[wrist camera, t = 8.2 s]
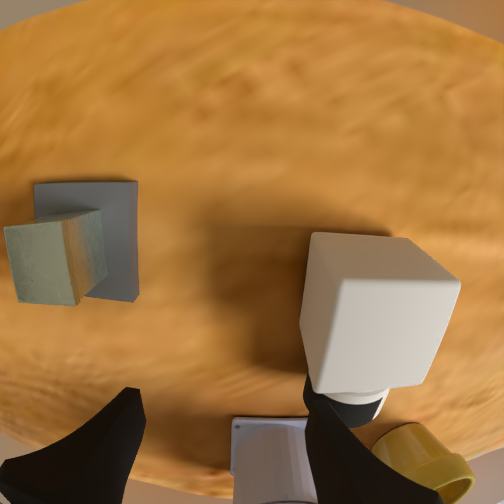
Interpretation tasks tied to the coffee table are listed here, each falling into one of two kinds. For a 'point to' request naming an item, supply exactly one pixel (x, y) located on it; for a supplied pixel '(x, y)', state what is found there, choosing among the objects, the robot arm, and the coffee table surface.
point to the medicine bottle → (370, 319)
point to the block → (113, 224)
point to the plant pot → (425, 461)
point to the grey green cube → (57, 257)
